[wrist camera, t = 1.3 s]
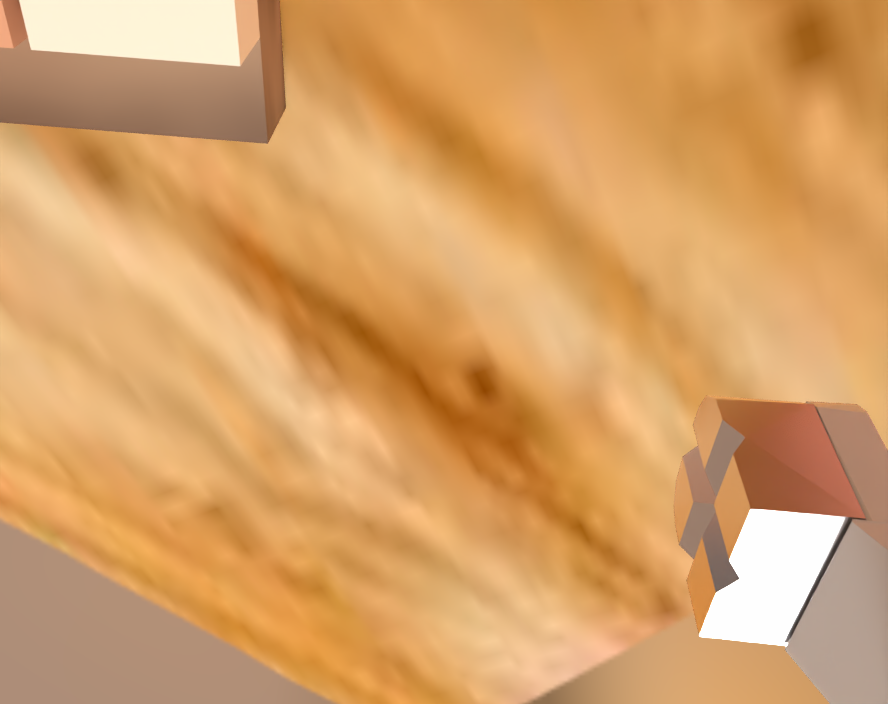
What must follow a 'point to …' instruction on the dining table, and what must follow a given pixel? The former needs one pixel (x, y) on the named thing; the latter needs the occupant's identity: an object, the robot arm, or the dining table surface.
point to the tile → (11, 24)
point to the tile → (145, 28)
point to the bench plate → (149, 90)
